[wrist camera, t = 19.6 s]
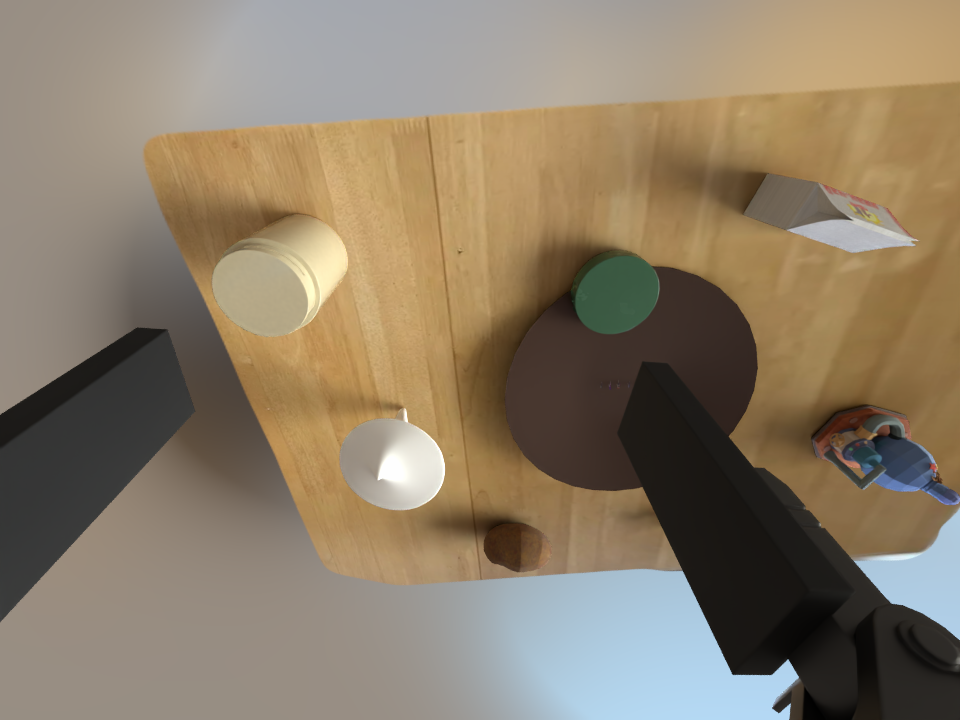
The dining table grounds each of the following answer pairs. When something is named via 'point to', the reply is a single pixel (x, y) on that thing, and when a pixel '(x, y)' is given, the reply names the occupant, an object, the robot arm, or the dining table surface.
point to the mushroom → (392, 463)
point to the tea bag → (826, 215)
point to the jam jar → (280, 275)
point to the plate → (623, 377)
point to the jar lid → (614, 292)
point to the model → (880, 452)
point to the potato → (517, 547)
